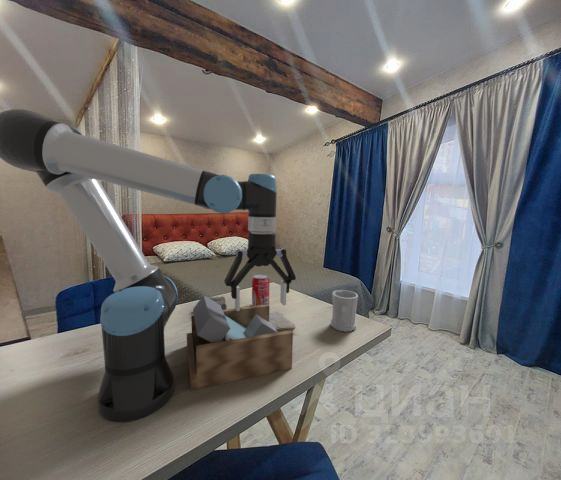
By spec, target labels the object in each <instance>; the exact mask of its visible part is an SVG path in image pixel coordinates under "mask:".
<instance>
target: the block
mask: <svg viewBox="0 0 561 480" xmlns="http://www.w3.org/2000/svg"><path fill="white" fill-rule="evenodd" d="M244 332H245V334H246V336H247V337H252V336H258V335H265V334H271V333H277V331H276V329H275V328H274V327H273V325H272V324H271V323H269V322H268V321H266V320H264V319H263V318H261V317H260V316H258V315H255V316H254V318H253V319H252V321H251V322H250V324H249V325H248V326H247V328H246V329H245V331H244Z"/></svg>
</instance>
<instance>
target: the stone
mask: <svg viewBox="0 0 561 480" xmlns="http://www.w3.org/2000/svg"><path fill="white" fill-rule="evenodd" d="M269 323H271V324H272V325H273V327H274V328H275V329H276V331H277V332H283V331H289V330H291V331H292V332H293V331H294V330H295V329H296V327H297V326H296V324H295V323H294V322H293V321H291V320H289V319H288V318H286V317H285V316H284V315H283V314H282V313H280V312H279V311H273V312H269ZM293 333H294V332H293Z"/></svg>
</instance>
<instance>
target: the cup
mask: <svg viewBox="0 0 561 480" xmlns="http://www.w3.org/2000/svg"><path fill="white" fill-rule="evenodd" d="M331 294H332V295H331V296H332V297H331V298H332V317H331V318H332V319H331V320H330V325H331V327H332V328H333V329H335V331H336V330H337V331H340V332H343V331H344V332H346V333H347V332H348V331H349V332H352V330H353V331H354V330H356V329H357V322H356V314H357V306H358V301H359V295H358V293H357V292H354V291H352V290H347V289H346V290H345V289H339V290H338V289H337V290H334V291H332V293H331Z"/></svg>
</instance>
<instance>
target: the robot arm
mask: <svg viewBox="0 0 561 480" xmlns="http://www.w3.org/2000/svg"><path fill="white" fill-rule="evenodd" d="M0 159H1V160H2V161H3V162H5V163H6V164H9V165H10V166H12V167H15V168H17V169H20V170H24V171H29V172H34V173H36V174H37V175H38V177H39V178H40V180H41V182H42V183H43V184H44V186H45V187H46V189H47V190H48V191H51V192H54V193H56V194H59V195H60V197H61V199H62V200H63V202H64V203H65V204H66V206H67V208H68V209H69V211H70V212H71V214H72V216H73V217H74V218H75V221H77V223H78V225H79V227H80V228H81V230H82V231H83V233H84V234H85V236H86V237H87V239H88V241H89V242H90V243H91V245H92V246H93V248H94V249H95V251H96V252H97V254H98V256H99V257H100V259H101V261H102V262H103V263H104V265H105V267H106V268H107V270H108V272H109V273H110V274H111V276H112V278H113V280H114V281H115V283H114V287H113V289H112V290H113V292H114V293H111V294H110V295H109V296H107V297H106V298H105V299H104V301H103V302H102V304H101V307H100V317H99V322H100V326H101V338H102V348H103V357H104V374H103V377H102V381H101V384H100V387H99V391H98V394H97V399H96V400H97V411H98V413H99V415H100V416H101V417H102V418H104V419H105V420H107V421H111V422H128V421H129V422H130V421H133V420H139V419H141V418H144V417H146V416H149V415H150V414H152V413H154V412H156V411H158V410H159V409H160V408H162V407H163V406H165V405H166V403H167V402H169V400H170V399H171V398H172V396H173V394H174V392H175V376H174V373H173V371H172V369H171V367H170V365H169V362H168V359H167V357H166V349H165V347H166V345H165V328H166V327H167V326H166V325H167V323H168V322H169V320H170V317H171V315H172V314H173V312H174V311H175V309H176V306H177V303H178V297H179V295H178V289H177V286H176V284H175V283H174V282H173V280H172V279H171V278H169V277H167V276H165V275H164V274H163V272H162V271H161V269H160V267H159V266H158V265H153V264H151V263H150V262H149V261H148V259H147V258H146V256H145V254H144V252H142V250H141V247H140V246H139V244H138V243H137V241H136V240H135V238H134V235H132V233H131V231H130V230H129V228H128V226H127V224H126V223H125V220H124V219H123V218H122V216H121V214H120V213H119V211H118V209H117V208H116V206H115V204H114V203H113V201H112V200H111V198H110V196H109V195H108V193H107V191H106V189H105V188H104V186H103V184H102V183H101V181H102V182H106V183H109V184H114V185H117V186H121V187H123V188H124V187H125V188H129V189H133V190H137V191H141V192H144V193H147V194H152V195H156V196H159V197H164V198H168V199H170V200H175V201H179V202H183V203H185V204H191V205H193V206H198V207H200V208H203V209H205V210H211V211H213V212H216V213H220V214H229V213H231V212H234V211H248V212H247V213H248V214H247V216H248V218H247V222H248V223H247V231H249V233H248V235H247V249H246V250H241V249H237V250H236V252H235V258H234V261H233V262H232V265H231V266H230V268H229V271H228V272H227V274H226V276H225V278H224V281H223V282H224V285H225V286H226V287H230V297H231V299H232V300H234V308H235V309H236V311H240V308H241V307H240V306H241V305H240V301H241V300H240V298H241V297H240V292H241V289H240V288H241V287H240V286H239V284H241V282H242V281H243V280H244V278H245V277H246V276H247V275H248V273H249V272H250V271H251V270H252V269H253V268H254V267H255V266H256V267H257V268H258V267H262V266H263V267H268V266H271V267H272V268H273V269H274V270H275V272H276V273H277V274H278V275H279V277H281V278H282V280H280V296H279V297H280V300H279V303H280V304H282V306H286V305H287V294H289V292H290V284H291V283H292V281H295V280H297V277H296V275H295V272H294V270H293V267H292V266H291V263H290V261H289V259H288V255H287V250H286V249H285V248H283V247H280V248H278V249H276V242H277V241H276V240H277V239H276V238H277V237H276V233H275V232H276V229H277V228H276V227H277V226H276V225H277V197H278V196H277V194H278V191H277V189H278V188H277V177H276V176H275V175H274V174H269V173H251V174H249V175H248V179H247V180H246V181H244V180H243V181H240V180H239V181H238V180H236V179H234V177H232V176H229V175H225V174H217V173H213V172H210V171H205V170H204V169H200V168H197V167H193V166H189V165H187V164H184V163H180V162H176V161H173V160H170V159H166V158H162V157H159V156H155V155H152V154H148V153H145V152H141V151H138V150H135V149H131V148H128V147H124V146H122V145H117V144H115V143H111V142H108V141H103V140H100V139H97V138H93V137H90V136H87V135H84V134H83V133H81V132H79V131H78V130H77V129H75V128H73V127H71V126H69V125H67V124H65V123H62V122H59V121H56V120H53V119H52V118H49V117H47V116H44V115H42V114H40V113H38V112H36V111H33V110H27V109H21V108H20V109H19V108H17V109H16V108H13V109H8V110H4V111H2V112H0ZM276 256H278V257H279V258H280V260H281V261H280V262H282V265H283V267H284V269H285V271H286V273H287V274H286V273H285V272H284V271H283V270H282V268H281V267H280V265H279V264H278V263H277V262H276V261H275V260H274V259H275V258H276ZM245 257H247V258H248V260H247V261H246V263H245V264H244V265H243V267H242V268H241V269H240V270H239V268H240V265H241V263H242V262H243V261H242V260H244V259H245ZM238 270H239V272H238V273H237V271H238ZM236 273H237V274H236Z"/></svg>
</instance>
